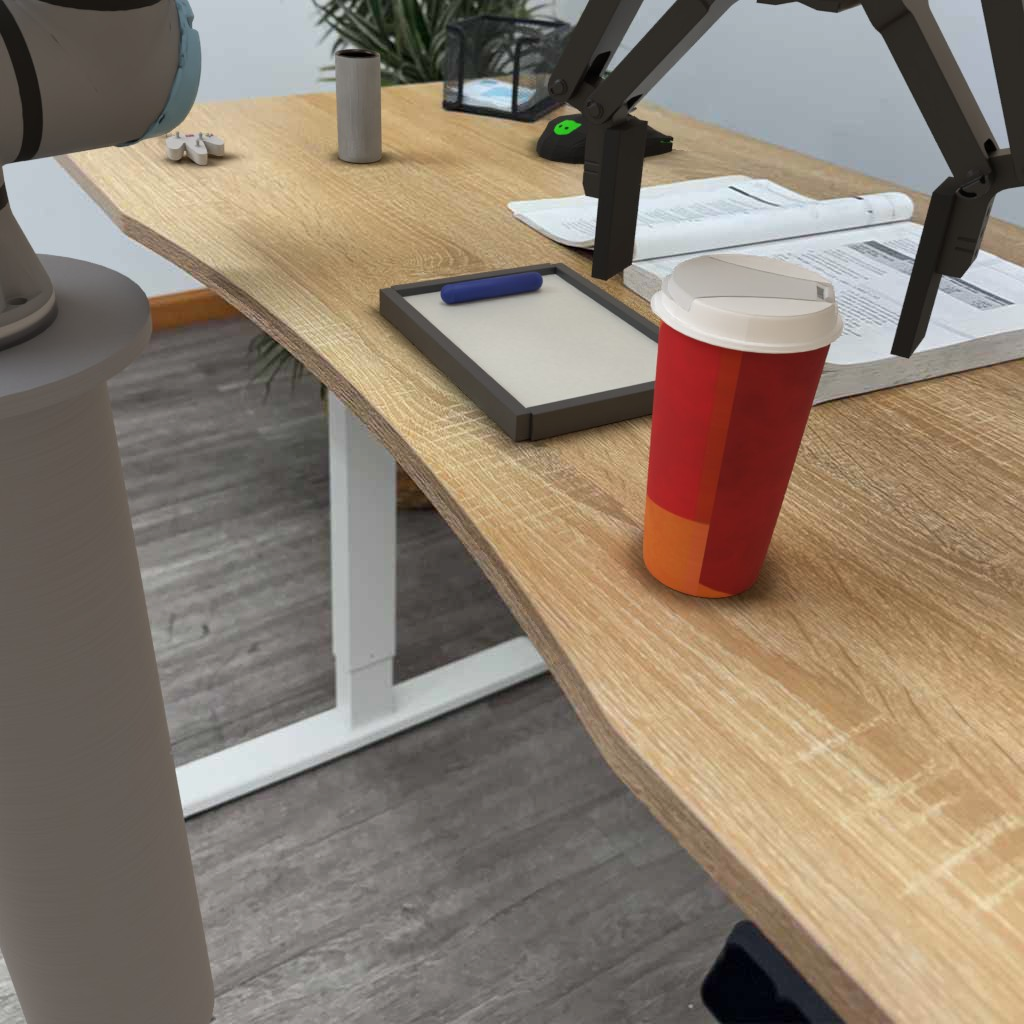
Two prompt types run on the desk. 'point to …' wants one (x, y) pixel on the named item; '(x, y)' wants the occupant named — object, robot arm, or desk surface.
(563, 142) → the computer mouse
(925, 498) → the desk surface
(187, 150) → the game controller
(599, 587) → the desk surface
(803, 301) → the coffee cup
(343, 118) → the grey cylindrical container
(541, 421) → the whiteboard
